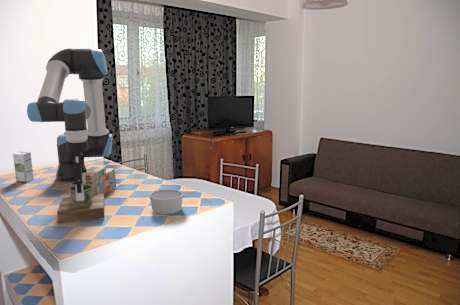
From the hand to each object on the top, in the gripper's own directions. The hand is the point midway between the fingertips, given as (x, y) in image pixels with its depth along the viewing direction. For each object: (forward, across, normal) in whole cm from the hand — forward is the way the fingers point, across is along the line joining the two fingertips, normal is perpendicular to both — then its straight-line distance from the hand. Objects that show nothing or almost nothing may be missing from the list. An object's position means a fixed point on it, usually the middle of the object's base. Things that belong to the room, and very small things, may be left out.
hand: (81, 194), depth 141 cm
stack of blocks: (+8, -22, +6) cm, 24 cm away
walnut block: (+8, 0, 0) cm, 8 cm away
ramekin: (+8, +6, +32) cm, 34 cm away
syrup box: (+8, -53, -30) cm, 61 cm away
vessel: (+3, 0, 0) cm, 3 cm away
